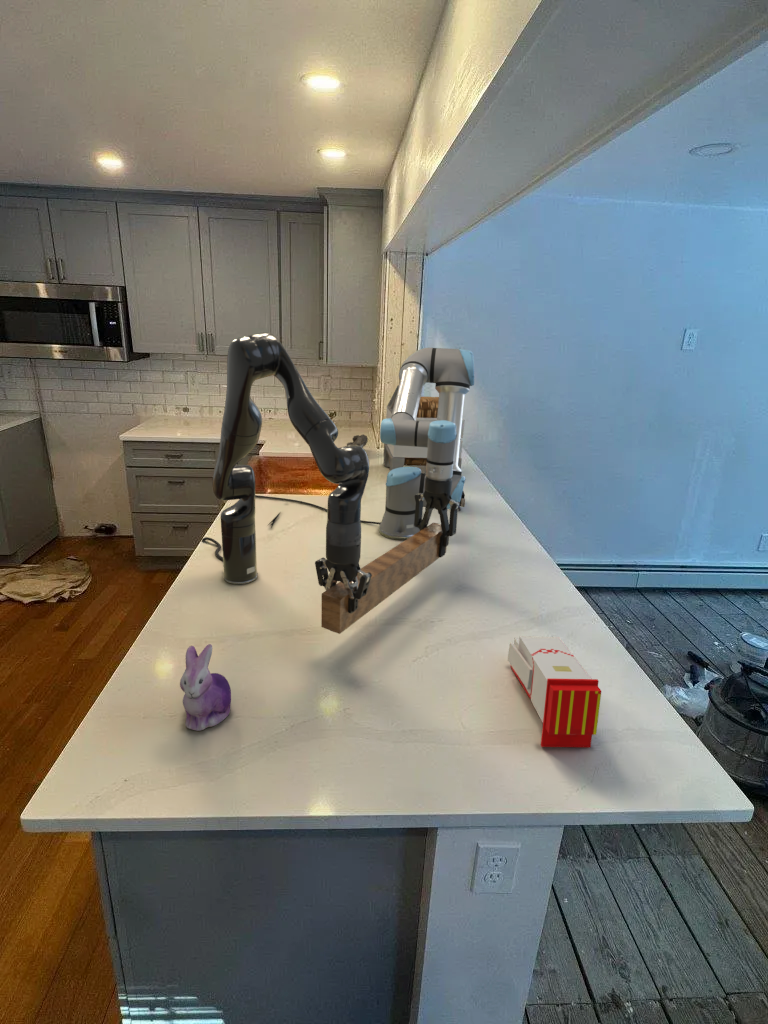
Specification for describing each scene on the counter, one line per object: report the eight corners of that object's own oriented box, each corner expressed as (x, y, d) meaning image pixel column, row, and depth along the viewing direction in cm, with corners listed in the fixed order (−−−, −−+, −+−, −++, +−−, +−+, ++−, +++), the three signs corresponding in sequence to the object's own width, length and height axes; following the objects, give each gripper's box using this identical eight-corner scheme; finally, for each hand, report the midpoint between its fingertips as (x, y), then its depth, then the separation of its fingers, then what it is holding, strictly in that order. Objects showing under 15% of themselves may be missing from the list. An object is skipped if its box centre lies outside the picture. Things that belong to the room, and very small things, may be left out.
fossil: (343, 440, 315) (365, 425, 310) (354, 454, 317) (375, 439, 312) (337, 454, 295) (359, 438, 290) (348, 468, 298) (371, 453, 293)
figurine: (187, 740, 102) (180, 669, 97) (178, 706, 110) (171, 639, 105) (239, 725, 106) (236, 656, 101) (227, 693, 115) (223, 628, 109)
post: (431, 548, 171) (433, 522, 168) (446, 552, 169) (448, 526, 166) (321, 627, 126) (321, 593, 123) (339, 634, 124) (340, 599, 121)
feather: (287, 506, 225) (290, 502, 224) (270, 530, 198) (272, 526, 198) (283, 504, 225) (286, 500, 224) (265, 527, 198) (268, 523, 197)
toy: (555, 619, 129) (611, 687, 100) (550, 674, 132) (602, 754, 102) (502, 618, 128) (542, 685, 99) (498, 673, 131) (536, 754, 102)
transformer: (382, 463, 289) (386, 382, 275) (445, 464, 293) (451, 384, 279) (390, 482, 257) (394, 392, 243) (460, 483, 261) (468, 394, 247)
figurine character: (465, 515, 224) (460, 499, 237) (467, 498, 221) (462, 483, 234) (448, 515, 224) (444, 499, 237) (450, 498, 220) (445, 482, 234)
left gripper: (306, 535, 122) (306, 605, 128) (361, 552, 115) (358, 625, 121) (327, 525, 128) (326, 592, 134) (381, 540, 121) (377, 610, 127)
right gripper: (404, 474, 160) (399, 549, 168) (462, 486, 151) (455, 565, 159) (417, 468, 166) (412, 541, 174) (474, 480, 157) (466, 557, 165)
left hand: (341, 607), depth 127 cm, fingers closed on post, 5 cm apart
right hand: (432, 553), depth 166 cm, fingers closed on post, 5 cm apart
